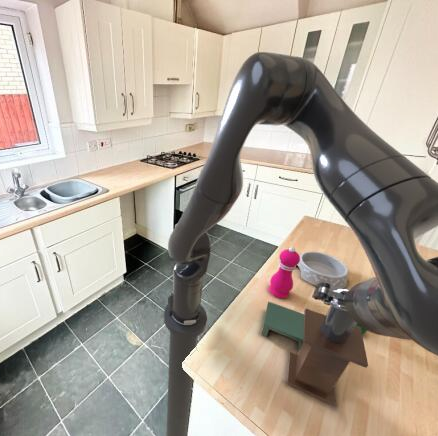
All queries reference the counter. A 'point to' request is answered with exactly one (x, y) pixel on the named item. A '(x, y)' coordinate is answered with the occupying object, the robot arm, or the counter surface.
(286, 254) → the pepper mill
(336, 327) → the spice jar
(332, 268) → the dog bowl
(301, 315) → the low shelf
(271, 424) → the counter surface
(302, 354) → the wooden pedestal table
